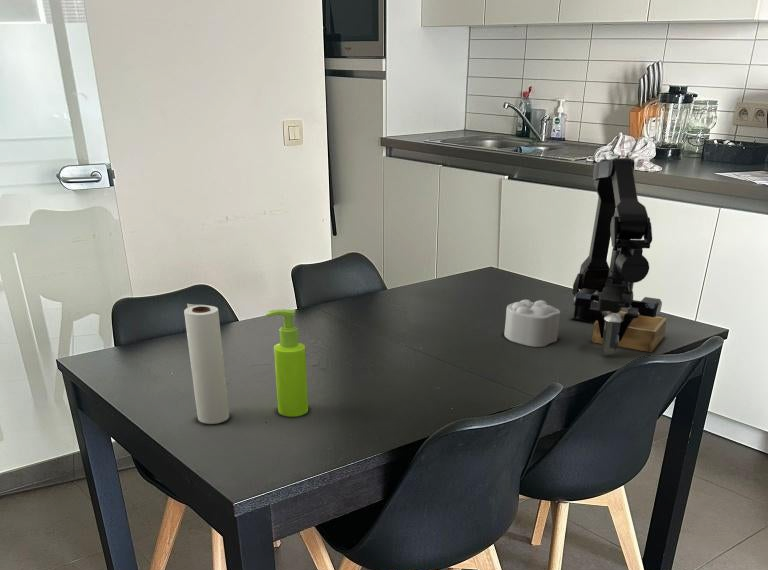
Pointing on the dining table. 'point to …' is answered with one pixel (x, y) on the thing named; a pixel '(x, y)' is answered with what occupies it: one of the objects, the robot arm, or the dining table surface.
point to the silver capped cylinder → (611, 332)
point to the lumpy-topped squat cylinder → (532, 323)
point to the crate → (638, 333)
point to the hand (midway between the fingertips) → (611, 339)
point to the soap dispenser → (290, 368)
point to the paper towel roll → (207, 363)
